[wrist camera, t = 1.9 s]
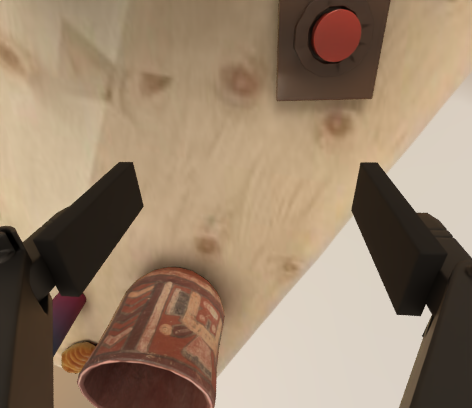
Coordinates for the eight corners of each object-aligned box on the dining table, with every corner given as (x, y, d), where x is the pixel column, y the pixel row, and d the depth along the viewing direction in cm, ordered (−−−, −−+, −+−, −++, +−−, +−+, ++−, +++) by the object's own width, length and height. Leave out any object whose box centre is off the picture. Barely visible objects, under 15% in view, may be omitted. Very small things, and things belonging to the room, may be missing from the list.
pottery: (203, 334, 58) (180, 443, 43) (121, 298, 55) (64, 402, 40) (248, 282, 50) (238, 396, 34) (153, 236, 47) (96, 339, 31)
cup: (51, 296, 57) (-12, 374, 45) (62, 278, 54) (-3, 355, 41) (83, 312, 59) (31, 391, 46) (95, 295, 56) (43, 375, 43)
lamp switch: (312, 11, 26) (315, 10, 24) (359, 8, 26) (365, 7, 24) (309, 60, 28) (311, 63, 27) (351, 59, 28) (357, 61, 26)
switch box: (279, -36, 28) (280, -45, 24) (391, -44, 26) (408, -55, 23) (276, 97, 34) (276, 105, 30) (366, 94, 33) (377, 102, 29)
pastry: (82, 334, 63) (71, 351, 60) (108, 349, 65) (100, 366, 62) (63, 350, 67) (52, 366, 64) (88, 363, 69) (80, 380, 66)
